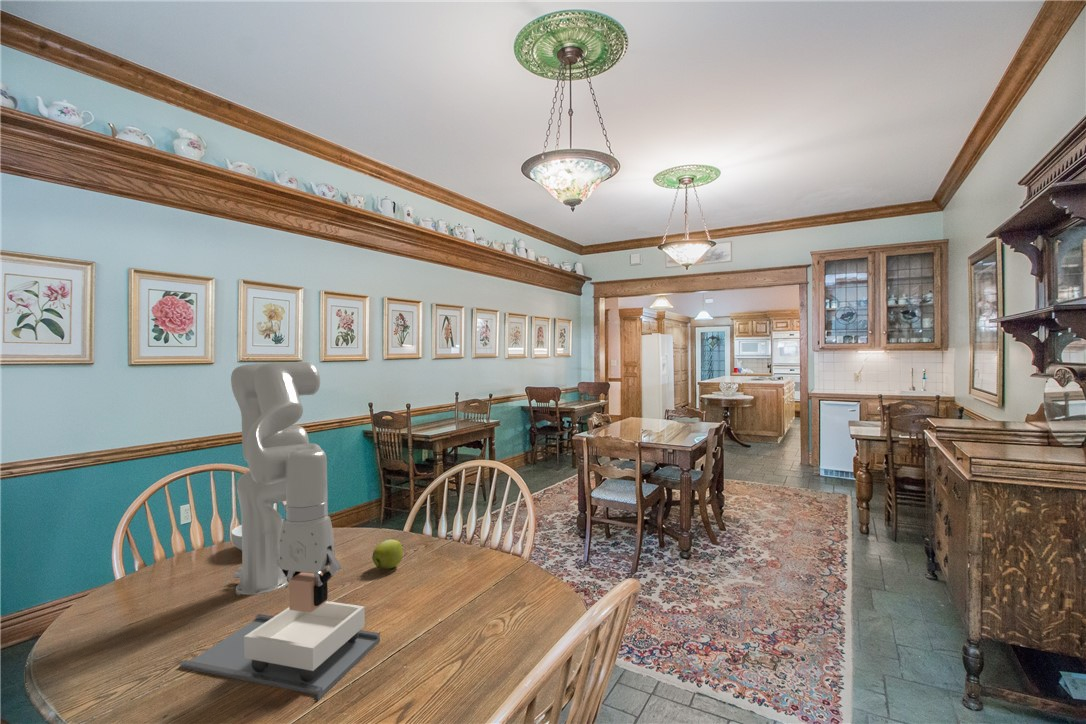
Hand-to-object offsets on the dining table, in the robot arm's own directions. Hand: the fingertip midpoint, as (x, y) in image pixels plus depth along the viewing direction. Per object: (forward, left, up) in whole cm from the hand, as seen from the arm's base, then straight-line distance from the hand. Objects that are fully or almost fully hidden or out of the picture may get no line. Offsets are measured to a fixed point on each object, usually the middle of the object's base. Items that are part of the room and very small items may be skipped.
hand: (308, 600), depth 100 cm
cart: (-1, 0, -11) cm, 11 cm away
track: (-6, 0, -12) cm, 14 cm away
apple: (-9, +43, -13) cm, 46 cm away
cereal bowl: (-57, +46, -13) cm, 75 cm away
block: (0, 0, -1) cm, 1 cm away
